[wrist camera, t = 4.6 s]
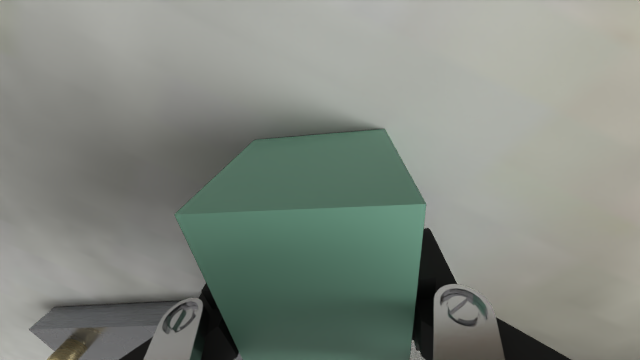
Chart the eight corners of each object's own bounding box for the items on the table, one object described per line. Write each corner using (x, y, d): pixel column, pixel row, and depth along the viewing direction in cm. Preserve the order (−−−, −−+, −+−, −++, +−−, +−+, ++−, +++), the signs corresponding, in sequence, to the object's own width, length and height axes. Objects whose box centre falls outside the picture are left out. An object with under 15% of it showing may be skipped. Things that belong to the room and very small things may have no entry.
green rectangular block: (384, 128, 9) (425, 203, 4) (382, 293, 13) (403, 419, 8) (254, 139, 9) (173, 214, 5) (291, 293, 13) (266, 409, 9)
